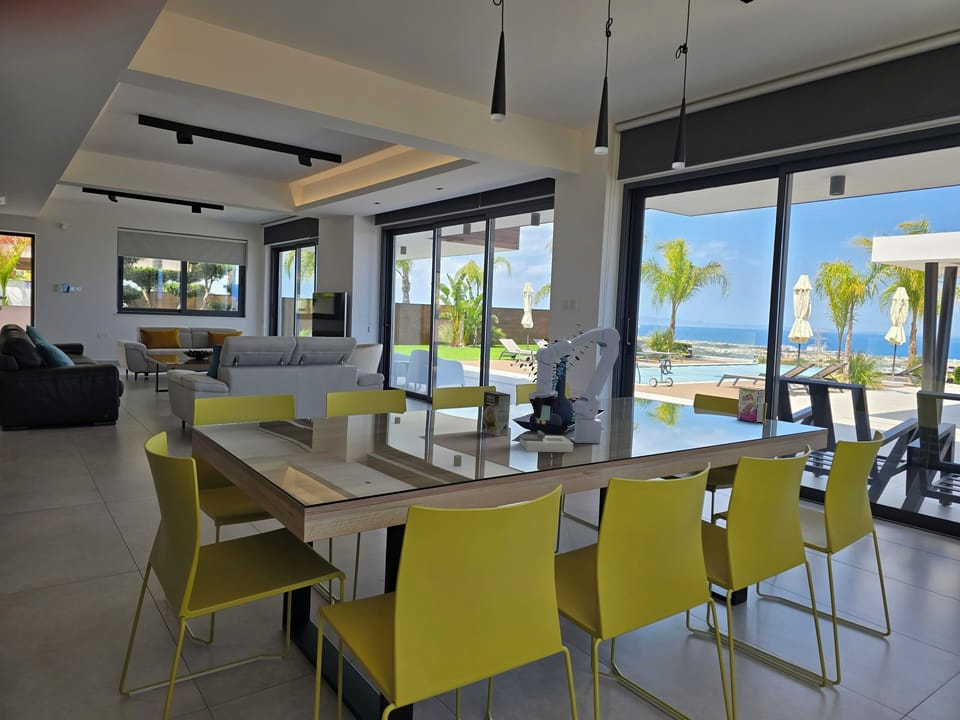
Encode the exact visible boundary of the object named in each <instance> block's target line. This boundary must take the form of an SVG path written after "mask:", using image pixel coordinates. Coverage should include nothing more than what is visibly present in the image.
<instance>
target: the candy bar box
mask: <svg viewBox="0 0 960 720" xmlns="http://www.w3.org/2000/svg"><path fill="white" fill-rule="evenodd" d="M765 392H766V391H765V389H761V388H755V387H749V386H740V387H739V389H738V402H737V403H738V404H737V405H738V407H737V418H736V419H737V420H739V419H740V421H744V420H745V422H749V421H750V423H754V422H756V423H755V424H758V423H757V422H762V423H763V417H764V403H765Z"/></svg>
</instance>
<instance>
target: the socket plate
mask: <svg viewBox="0 0 960 720" xmlns="http://www.w3.org/2000/svg"><path fill="white" fill-rule="evenodd" d="M519 444H520V445H521V446H522V447H523V448H524V450H525V451H526V452H535V453H536V452H537V453H539V452H540V453H544V452H545V453H574V443H573V442H572V441H570V440H569V439H568V438H567V437H565V436H564V435H545V439H543V441H526V440H522V439H521V438H520V437H519Z"/></svg>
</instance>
